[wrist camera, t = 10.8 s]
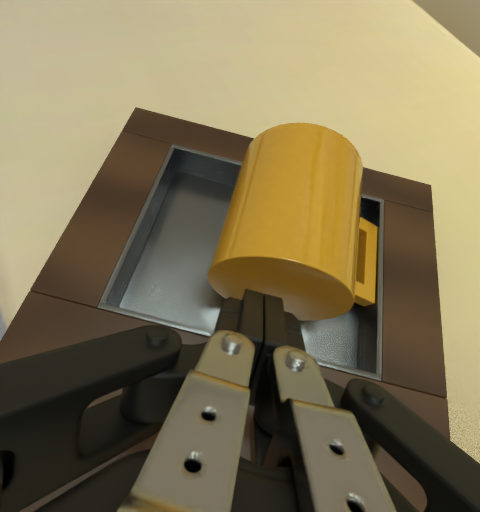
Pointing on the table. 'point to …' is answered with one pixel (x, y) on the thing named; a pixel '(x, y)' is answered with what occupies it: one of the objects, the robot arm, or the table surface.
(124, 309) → the sink
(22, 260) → the table surface
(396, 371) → the counter
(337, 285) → the mug
